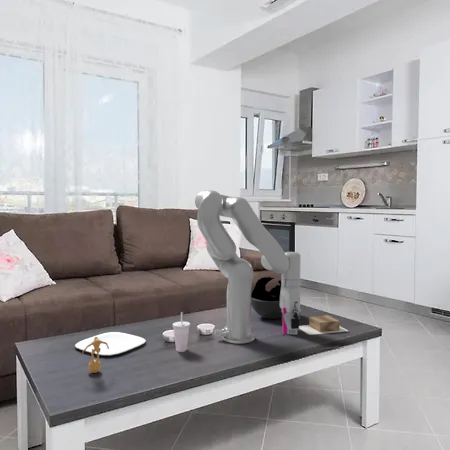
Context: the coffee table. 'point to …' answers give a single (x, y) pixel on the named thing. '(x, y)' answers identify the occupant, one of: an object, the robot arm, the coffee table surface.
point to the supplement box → (288, 323)
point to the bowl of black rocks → (266, 299)
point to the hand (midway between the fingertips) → (290, 325)
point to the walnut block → (324, 323)
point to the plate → (112, 343)
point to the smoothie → (181, 334)
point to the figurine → (95, 364)
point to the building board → (312, 331)
